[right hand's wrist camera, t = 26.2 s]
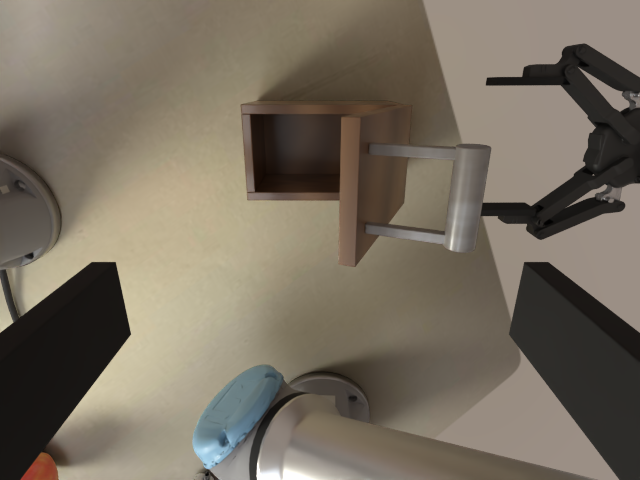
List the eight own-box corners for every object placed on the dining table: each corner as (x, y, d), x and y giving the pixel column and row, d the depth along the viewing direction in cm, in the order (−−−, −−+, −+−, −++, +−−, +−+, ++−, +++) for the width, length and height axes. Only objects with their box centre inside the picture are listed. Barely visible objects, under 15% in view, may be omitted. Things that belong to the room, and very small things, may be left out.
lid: (338, 264, 26) (469, 287, 23) (341, 116, 23) (496, 121, 20) (392, 201, 41) (478, 211, 38) (399, 104, 37) (494, 106, 34)
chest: (260, 179, 50) (247, 200, 41) (256, 100, 47) (240, 104, 37) (383, 179, 50) (397, 200, 41) (387, 100, 47) (404, 104, 37)
